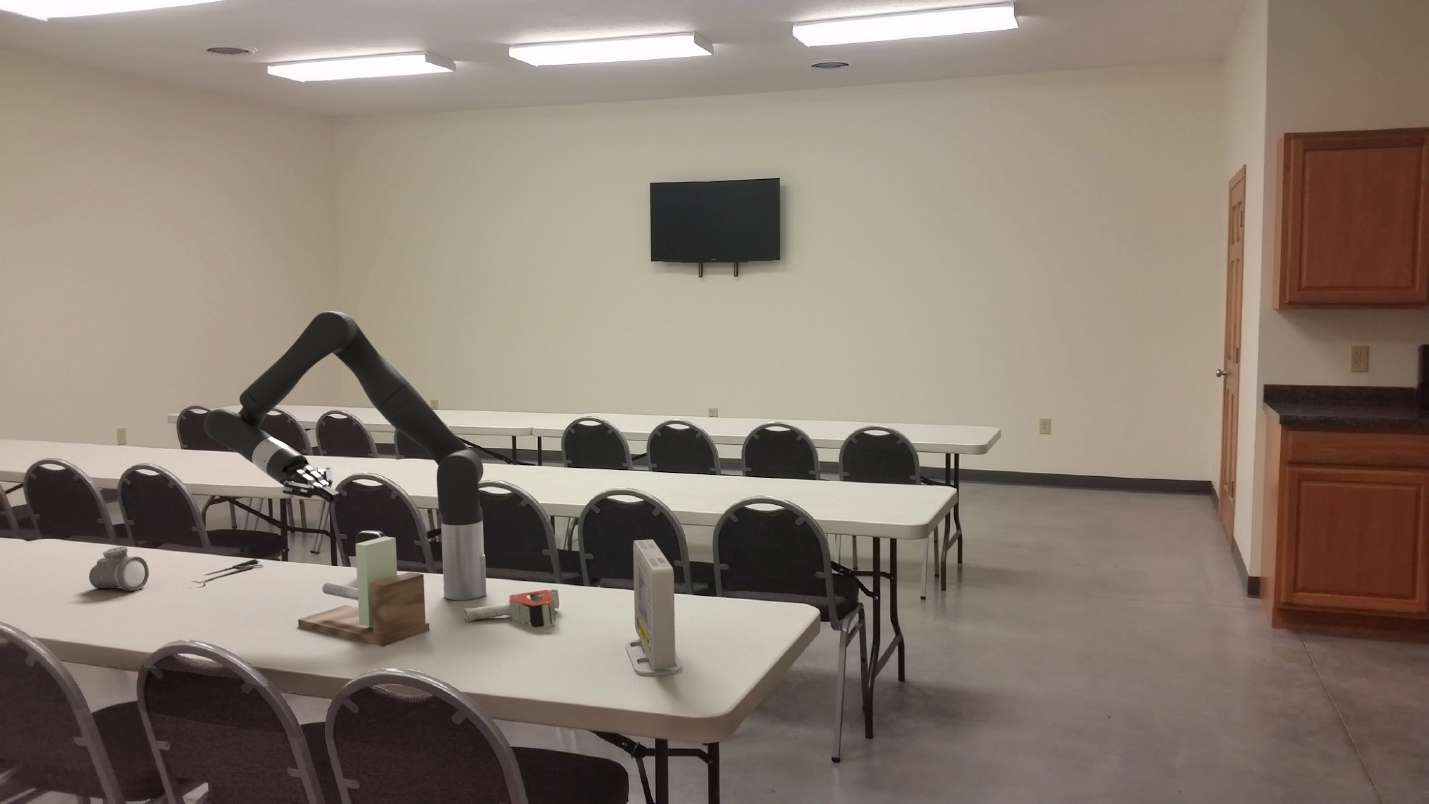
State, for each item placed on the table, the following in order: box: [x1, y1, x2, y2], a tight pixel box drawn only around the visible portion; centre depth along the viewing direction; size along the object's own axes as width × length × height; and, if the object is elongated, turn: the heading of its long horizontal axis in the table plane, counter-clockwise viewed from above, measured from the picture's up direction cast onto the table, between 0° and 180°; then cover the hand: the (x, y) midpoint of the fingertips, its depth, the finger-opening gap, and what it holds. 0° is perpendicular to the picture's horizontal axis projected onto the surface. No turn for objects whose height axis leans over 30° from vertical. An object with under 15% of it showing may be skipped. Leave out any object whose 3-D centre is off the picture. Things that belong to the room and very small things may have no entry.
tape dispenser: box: [463, 588, 560, 629], centre depth 224 cm, size 18×5×20 cm
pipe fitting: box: [88, 545, 150, 592], centre depth 251 cm, size 12×8×10 cm, turn 73°
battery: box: [355, 530, 386, 545], centre depth 259 cm, size 7×4×11 cm, turn 72°
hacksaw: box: [189, 558, 264, 589], centre depth 263 cm, size 24×10×2 cm, turn 150°
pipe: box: [321, 582, 358, 601], centre depth 218 cm, size 22×3×3 cm, turn 58°
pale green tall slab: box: [355, 535, 398, 627], centre depth 215 cm, size 3×8×17 cm, turn 148°
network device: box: [624, 539, 683, 677], centre depth 197 cm, size 26×9×20 cm, turn 12°
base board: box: [297, 571, 430, 648], centre depth 218 cm, size 26×12×12 cm, turn 58°
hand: (336, 499), depth 224 cm, fingers closed
